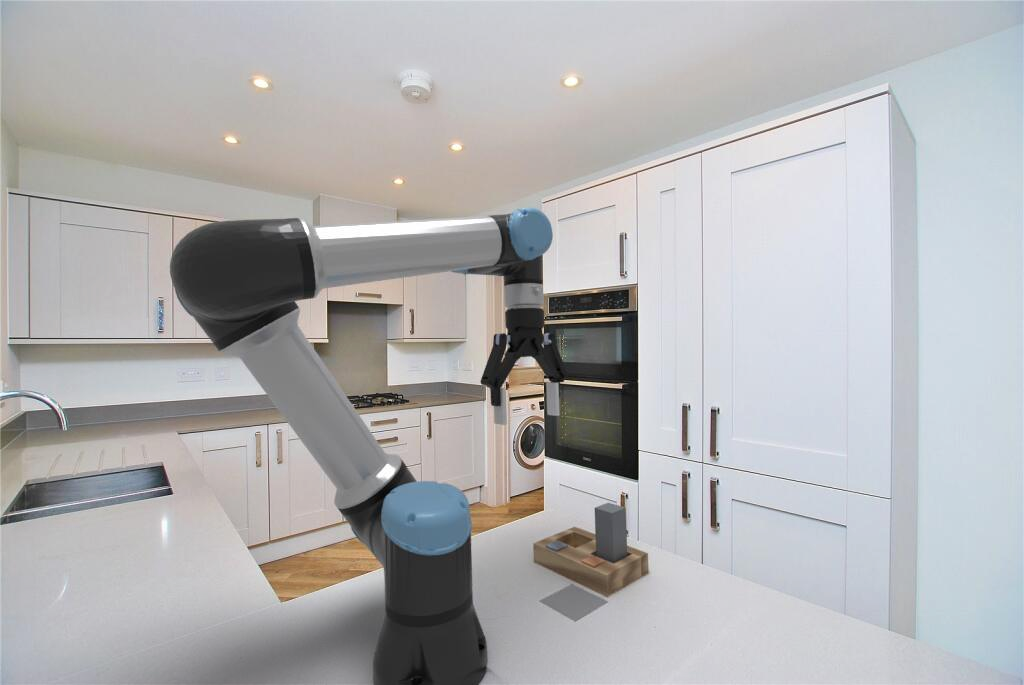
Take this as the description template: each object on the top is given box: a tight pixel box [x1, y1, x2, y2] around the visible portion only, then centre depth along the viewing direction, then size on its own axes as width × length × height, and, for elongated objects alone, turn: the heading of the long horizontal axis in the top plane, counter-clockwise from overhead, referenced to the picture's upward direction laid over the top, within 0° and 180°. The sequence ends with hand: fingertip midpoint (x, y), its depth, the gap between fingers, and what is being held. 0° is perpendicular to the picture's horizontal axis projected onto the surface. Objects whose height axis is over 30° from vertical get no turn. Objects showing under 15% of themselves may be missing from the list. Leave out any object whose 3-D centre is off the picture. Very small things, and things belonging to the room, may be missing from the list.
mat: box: [539, 583, 609, 622], centre depth 77 cm, size 8×8×1 cm
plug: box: [594, 502, 628, 564], centre depth 86 cm, size 4×4×12 cm
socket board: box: [532, 526, 649, 598], centre depth 89 cm, size 12×18×4 cm, turn 40°
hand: (528, 419), depth 89 cm, fingers open, 13 cm apart
